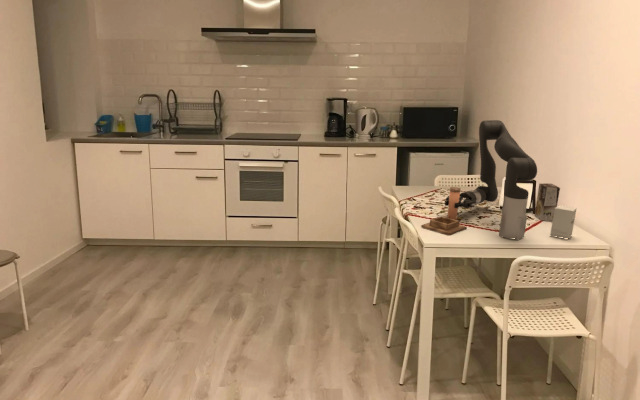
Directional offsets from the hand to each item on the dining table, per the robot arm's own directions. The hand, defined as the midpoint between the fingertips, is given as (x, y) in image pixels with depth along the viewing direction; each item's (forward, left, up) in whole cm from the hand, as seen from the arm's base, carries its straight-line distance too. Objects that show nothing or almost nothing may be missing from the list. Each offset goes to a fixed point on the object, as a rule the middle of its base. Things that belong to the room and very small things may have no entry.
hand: (450, 204), depth 233 cm
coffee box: (-26, -43, -8) cm, 51 cm away
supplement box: (-42, -21, -8) cm, 48 cm away
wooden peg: (0, -3, -8) cm, 8 cm away
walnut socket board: (-4, +10, -8) cm, 14 cm away
